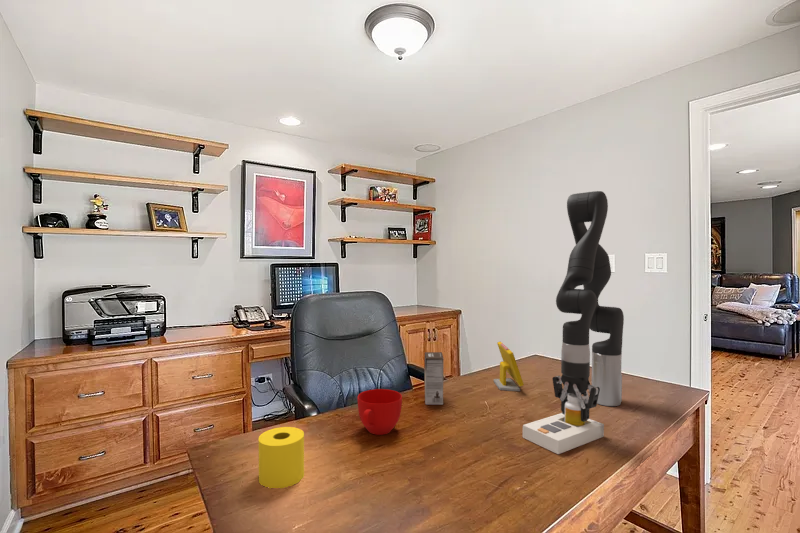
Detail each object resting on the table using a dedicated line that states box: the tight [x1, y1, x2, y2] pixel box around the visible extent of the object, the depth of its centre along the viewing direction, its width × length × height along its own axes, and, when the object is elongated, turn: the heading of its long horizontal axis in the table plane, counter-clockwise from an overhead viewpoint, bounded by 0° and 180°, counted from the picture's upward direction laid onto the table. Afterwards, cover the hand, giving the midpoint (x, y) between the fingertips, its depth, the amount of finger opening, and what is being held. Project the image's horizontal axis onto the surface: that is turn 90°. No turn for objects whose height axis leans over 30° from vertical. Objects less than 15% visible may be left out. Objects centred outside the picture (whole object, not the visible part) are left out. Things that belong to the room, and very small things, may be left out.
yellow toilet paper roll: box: [258, 426, 305, 489], centre depth 95 cm, size 10×10×9 cm
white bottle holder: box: [522, 412, 605, 455], centre depth 116 cm, size 20×12×4 cm, turn 122°
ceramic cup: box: [357, 388, 403, 436], centre depth 119 cm, size 13×17×10 cm
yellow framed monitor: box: [493, 341, 524, 392], centre depth 162 cm, size 20×8×16 cm, turn 179°
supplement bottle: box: [564, 394, 585, 427], centre depth 119 cm, size 5×5×10 cm
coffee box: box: [424, 351, 445, 406], centre depth 146 cm, size 9×6×16 cm
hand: (574, 417), depth 119 cm, fingers closed on supplement bottle, 5 cm apart
